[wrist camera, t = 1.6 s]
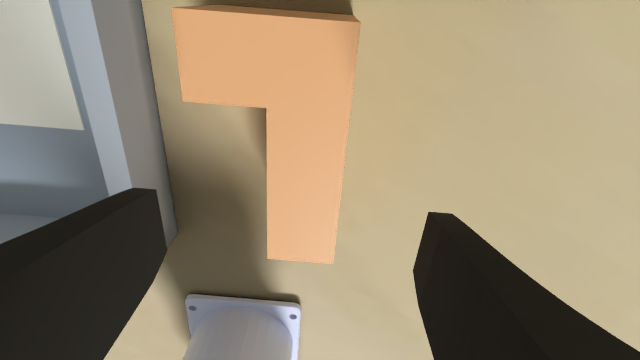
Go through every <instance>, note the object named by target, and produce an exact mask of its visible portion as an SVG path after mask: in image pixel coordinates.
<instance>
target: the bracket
mask: <svg viewBox="0 0 640 360" xmlns="http://www.w3.org/2000/svg"><path fill="white" fill-rule="evenodd" d="M171 11H172V19H173V27H174V35H175V43H176V51H177V59H178V68H179V76H180V84H181V92H182V100H183V102H196V103H208V104H221V105H234V106H246V107H259V108H266V130H267V259H277V260H290V261H302V262H315V263H327V264H333V259H334V251H335V242H336V233H337V225H338V216H339V207H340V199H341V190H342V181H343V172H344V164H345V155H346V146H347V138H348V129H349V120H350V112H351V103H352V94H353V85H354V77H355V68H356V59H357V51H358V42H359V33H360V24H361V22H360V21H359V20H358V19H357V18H356V17H355V16H354V15H345V14H332V13H319V12H307V11H294V10H281V9H269V8H256V7H243V6H231V5H204V6H188V7H173V8H171Z"/></svg>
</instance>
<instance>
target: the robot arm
mask: <svg viewBox="0 0 640 360" xmlns="http://www.w3.org/2000/svg"><path fill="white" fill-rule="evenodd" d="M166 252H167V245H166V239H165V234H164V229H163V223H162V218H161V212H160V207H159V201H158V196H157V191H156V189H146V188H131V189H128V190H125V191H122V192H119V193H117V194H114V195H112V196H110V197H107V198H105V199H103V200H100V201H98V202H96V203H94V204H91V205H89V206H87V207H85V208H83V209H80V210H78V211H76V212H74V213H71V214H69V215H67V216H65V217H62V218H60V219H58V220H56V221H53V222H51V223H49V224H47V225H44V226H42V227H40V228H37V229H35V230H32V231H30V232H28V233H25V234H23V235H20V236H18V237H16V238H13V239H11V240H8V241H6V242H4V243H1V244H0V360H103V359H104V358H105V356H106V355H107V353H108V352H109V350H110V349H111V347H112V345H113V344H114V342H115V341H116V339H117V338H118V336H119V335H120V333H121V332H122V330H123V328H124V327H125V325H126V324H127V322H128V321H129V319H130V318H131V316H132V314H133V313H134V311H135V310H136V308H137V307H138V305H139V304H140V302H141V300H142V299H143V297H144V296H145V294H146V292H147V291H148V289H149V288H150V286H151V284H152V283H153V281H154V278H155V276H156V274H157V272H158V270H159V268H160V266H161V264H162V261H163V259H164V257H165V255H166ZM413 274H414V281H415V288H416V294H417V300H418V306H419V309H420V313H421V316H422V320H423V323H424V327H425V330H426V334H427V337H428V340H429V344H430V347H431V351H432V354H433V357H434V360H640V352H639V351H637V350H636V349H634V348H633V347H631V346H629V345H628V344H626V343H624V342H623V341H621V340H620V339H618V338H616V337H615V336H613V335H612V334H610V333H609V332H607V331H606V330H604V329H603V328H601V327H600V326H598V325H597V324H595V323H594V322H592V321H591V320H589V319H588V318H586V317H585V316H583V315H582V314H580V313H579V312H577V311H576V310H574V309H573V308H571V307H570V306H569V305H567V304H566V303H564V302H563V301H561V300H560V299H559V298H557V297H556V296H555V295H553V294H552V293H551V292H549V291H548V290H547V289H545V288H544V287H543V286H541V285H540V284H539V283H537V282H536V281H535V280H533V279H532V278H531V277H529V276H528V275H527V274H526V273H524V272H523V271H522V270H520V269H519V268H518V267H517V266H515V265H514V264H513V263H512V262H510V261H509V260H508V259H507V258H506V257H504V256H503V255H502V254H501V253H499V252H498V251H497V250H496V249H495V248H493V247H492V246H491V245H490V244H489V243H488V242H486V241H485V240H484V239H483V238H482V237H480V236H479V235H478V234H477V233H476V232H474V231H473V230H472V229H471V228H470V227H468V226H467V225H466V224H465V223H464V222H462V221H461V220H460V219H458V218H457V217H456V216H454V215H453V214H449V213H437V212H428V216H427V220H426V223H425V227H424V231H423V235H422V239H421V242H420V246H419V250H418V254H417V257H416V261H415V265H414V269H413ZM185 306H186V312H187V318H188V324H189V330H190V336H191V341H190V343H189V346H188V348H187V350H186V353H185V355H184V357H183V360H298V350H299V334H300V318H301V306H300V305H299V304H297V303H293V302H281V301H269V300H257V299H245V298H233V297H221V296H210V295H198V294H190V295H188V296H187V297H186V299H185ZM292 314H294V315H292Z"/></svg>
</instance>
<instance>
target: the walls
mask: <svg viewBox="0 0 640 360" xmlns="http://www.w3.org/2000/svg"><path fill="white" fill-rule="evenodd" d="M58 2H59V6H60V10H61V14H62V18H63V22H64V25H65V29H66V33H67V37H68V41H69V44H70V48H71V52H72V56H73V60H74V64H75V67H76V71H77V75H78V79H79V83H80V86H81V90H82V94H83V98H84V102H85V106H86V109H87V113H88V117H89V121H90V125H91V128H92V132H93V136H94V140H95V144H96V148H97V151H98V155H99V159H100V163H101V167H102V170H103V174H104V178H105V182H106V186H107V190H108V193H109V197H110V196H112V195H114V194H117V193H119V192H122V191H125V190H128V189H131V188H146V189H156V191H157V196H158V201H159V207H160V212H161V218H162V223H163V229H164V234H165V239H166V245H167V248H168V247H169V246H170V244H171V243H172V241H173V240H174V238H175V237H176V233H177V232H176V229H175V223H174V222H175V221H173V220H174V219H173V217H174V216H173V213H172V212H174V211H172V208H173V207H172V204H171V202H172V200H171V198H170V196H171V195H170V191H171V190H170V189H169V188H170V187H169V186H170V185H169V184H168V185H169V186H168V185H167V183H168V179H167V178H169V177H166V176H167V173H166V170H167V168H166V165H165V163H164V162H166V161H165V159H164V156H163V155H165V154H164V153H163V148H162V147H163V146H162V145H163V144H164V143H163V144H162V143H161V140H162V137H161V135H160V134H161V133H162V132H160V133H159V131H160V130H159V129H160V128H161V127H159V125H158V124H159V121H158V118H159V117H157V116H158V115H156V114H157V112H156V108H157V106H156V105H155V104H156V103H155V102H156V100H154V99H155V95H154V94H155V93H153V92H154V90H153V86H154V85H153V83H152V81H154V80H153V79H152V76H151V74H150V72H151V71H150V70H151V69H150V70H149V68H150V66H149V65H150V63H149V59H148V57H149V56H148V55H149V54H148V55H147V53H146V52H147V49H148V48H147V49H146V47H147V46H145V45H146V43H145V42H146V41H144V40H145V39H144V38H145V37H146V36H145V35H144V34H143V33H145V30H143V28H144V24H143V26H142V23H143V22H142V19H141V14H140V13H141V9H140V7H139V6H140V5H139V4H140V3H139V2H140V1H139V0H58ZM142 18H143V17H142ZM143 20H144V19H143ZM141 22H142V23H141ZM143 31H144V32H143ZM148 63H149V64H148ZM150 76H151V77H150ZM151 79H152V81H151ZM151 83H152V84H151ZM154 89H155V88H154ZM152 95H153V96H152ZM154 105H155V106H154ZM157 121H158V122H157ZM158 127H159V128H158ZM161 146H162V147H161ZM165 173H166V174H165ZM168 189H169V190H168ZM174 218H175V217H174ZM58 219H60V218H54V217H42V216H30V215H18V214H6V213H0V244H1V243H4V242H6V241H8V240H11V239H13V238H16V237H18V236H20V235H23V234H25V233H28V232H30V231H32V230H35V229H37V228H40V227H42V226H44V225H47V224H49V223H51V222H53V221H56V220H58ZM176 228H177V227H176ZM177 234H178V233H177Z"/></svg>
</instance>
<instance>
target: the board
mask: <svg viewBox="0 0 640 360" xmlns="http://www.w3.org/2000/svg"><path fill="white" fill-rule="evenodd" d="M139 1H140V2H139V3H140V4H139V5H140V6H139V7H140V9H141V13H140V14H141V19H142V22H143V23H142V22H141V23H142V26H143V24H144V20H143V19H144V18H142V17H143V11H142V5H141V0H139ZM143 30H145V24H144V28H143ZM143 32H144V31H143ZM143 34H144V35H145V36H146V30H145V33H143ZM144 39H145V40H144V41H146V42H145V43H146V45H145V46H147V47H146V49H147V48H148V43H147V36H146V37H145V38H144ZM146 53H147V55H148V54H149V49H147V52H146ZM148 56H149V57H148V59H149V63H150V65H149V66H150V68H149V70H150V69H151V70H150V71H151V72H150V74H151V76H152V79H153V74H152V68H151V61H150V55H148ZM149 63H148V64H149ZM151 76H150V77H151ZM152 79H151V81H152ZM152 83H153V85H154V81H152ZM152 83H151V84H152ZM154 88H155V86H153V90H154V92H153V93H155V89H154ZM154 95H155V99H154V100H156V102H155V103H156V104H155V105H156V106H157V108H156V112H157V114H156V115H158V116H157V117H159V111H158V105H157V99H156V93H155V94H154ZM152 96H153V95H152ZM155 105H154V106H155ZM158 121H159V124H158V125H159V127H161V124H160V118H158ZM158 121H157V122H158ZM159 127H158V128H159ZM159 130H160V131H159V133H160V132H162V130H161V128H160V129H159ZM160 135H161V137H162V133H161V134H160ZM161 143H162V144H163V137H162V140H161ZM162 146H163V147H162ZM162 146H161V147H162V148H163V153H164V154H165V149H164V144H163V145H162ZM163 156H164V159H165V161H166V155H163ZM164 163H165V165H166V168H167V162H164ZM166 173H167V176H166V177H169V174H168V168H167V170H166ZM166 173H165V174H166ZM167 179H168V183H167V185H168V184H169V185H170V180H169V178H167ZM169 185H168V186H169ZM169 187H170V186H169ZM169 189H170V190H171V187H170V188H169ZM169 189H168V190H169ZM170 195H171V196H170V198H171V200H172V202H171V204H172V207H173V208H172V211H174V205H173V199H172V193H171V191H170ZM107 197H109V193H108V190H107V186H106V182H105V178H104V174H103V170H102V167H101V163H100V159H99V155H98V151H97V148H96V144H95V140H94V136H93V132H92V128H91V125H90V121H89V117H88V113H87V109H86V106H85V102H84V98H83V94H82V90H81V86H80V83H79V79H78V75H77V71H76V67H75V64H74V60H73V56H72V52H71V48H70V44H69V41H68V37H67V33H66V29H65V25H64V22H63V18H62V14H61V10H60V6H59V2H58V0H0V213H6V214H18V215H30V216H42V217H54V218H62V217H65V216H67V215H69V214H71V213H74V212H76V211H78V210H80V209H83V208H85V207H87V206H89V205H91V204H94V203H96V202H98V201H100V200H103V199H105V198H107ZM172 213H173V216H174V217H175V212H172ZM174 217H173V219H174V220H173V221H175V222H174V223H175V229H176V232H177V233H178V230H177V228H176V227H177V224H176V218H174ZM177 233H176V235H177Z"/></svg>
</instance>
